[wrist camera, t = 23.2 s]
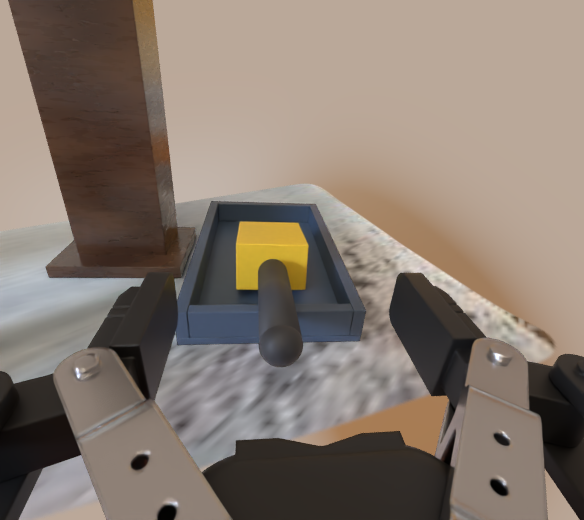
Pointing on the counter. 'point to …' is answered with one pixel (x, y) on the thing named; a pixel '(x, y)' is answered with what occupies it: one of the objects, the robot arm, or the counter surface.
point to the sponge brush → (274, 284)
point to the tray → (244, 303)
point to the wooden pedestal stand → (105, 134)
